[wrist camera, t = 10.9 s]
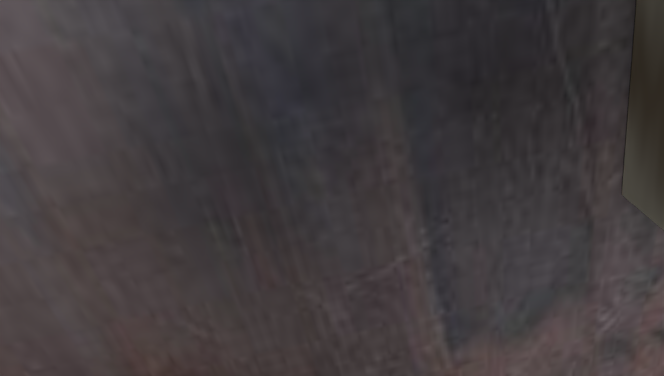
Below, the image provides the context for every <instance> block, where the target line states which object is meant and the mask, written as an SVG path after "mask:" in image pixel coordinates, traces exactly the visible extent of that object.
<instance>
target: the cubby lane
mask: <svg viewBox="0 0 664 376" xmlns="http://www.w3.org/2000/svg"><path fill="white" fill-rule="evenodd" d="M622 195H623V196H624V197H625V198H626V199H627V200H628V201H630V202H631V203H632V204H633V205H634V206H635V207H637V208H638V209H639V210H640V211H641V212H643V213H644V214H645V215H646V216H647V217H648V218H650V219H651V220H652V221H653V222H654V223H655V224H657V225H658V226H659V227H660V228H661V229H663V230H664V0H637V2H636V15H635V28H634V41H633V54H632V67H631V80H630V93H629V106H628V119H627V132H626V145H625V158H624V172H623V185H622Z"/></svg>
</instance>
